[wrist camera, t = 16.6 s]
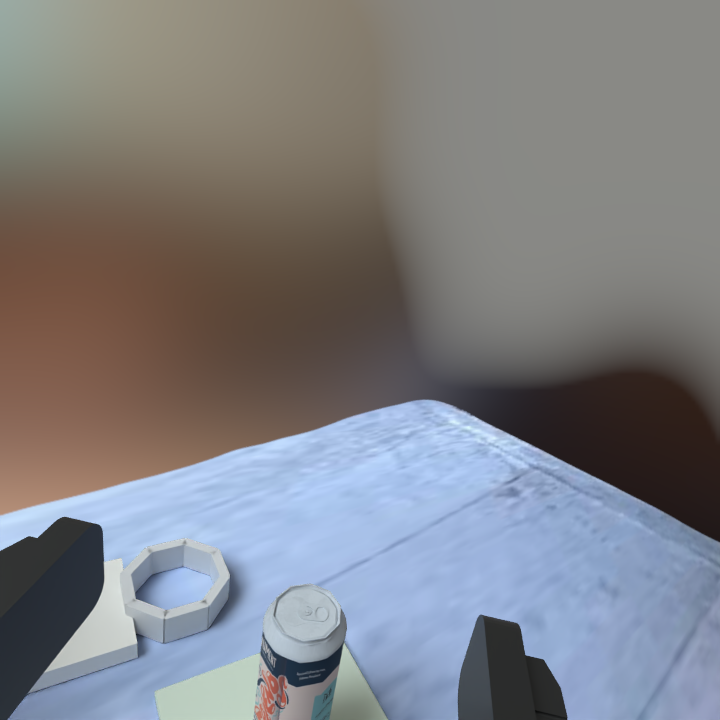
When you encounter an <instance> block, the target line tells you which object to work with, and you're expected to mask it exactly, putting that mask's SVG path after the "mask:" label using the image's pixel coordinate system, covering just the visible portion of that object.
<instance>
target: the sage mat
mask: <svg viewBox="0 0 720 720" xmlns="http://www.w3.org/2000/svg"><path fill="white" fill-rule="evenodd" d="M260 654H261V653H258V654H255V655H253V656H250V657H247V658H244V659H242V660H239V661H236V662H233V663H231V664H228V665H225V666H222V667H220V668H217V669H214V670H211V671H209V672H206V673H203V674H200V675H198V676H195V677H192V678H190V679H187V680H184V681H181V682H179V683H176V684H173V685H170V686H168V687H165V688H162V689H159V690H157V691H155V701H156V706H157V711H158V716H159V720H253V718H254V709H255V700H256V690H257V681H258V672H259V663H260ZM329 720H388V719H387V717H386V715H385V714H384V712H383V710H382V708H381V706H380V705H379V703H378V701H377V699H376V698H375V696H374V694H373V692H372V691H371V689H370V687H369V685H368V684H367V682H366V680H365V678H364V677H363V675H362V673H361V671H360V670H359V668H358V666H357V664H356V663H355V661H354V659H353V657H352V656H351V654H350V652H349V650H348V649H347V647H346V645H345V643H344V645H343V650H342V655H341V660H340V666H339V671H338V676H337V682H336V687H335V692H334V697H333V703H332V708H331V713H330V719H329Z"/></svg>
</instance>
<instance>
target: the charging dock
mask: <svg viewBox="0 0 720 720" xmlns="http://www.w3.org/2000/svg"><path fill="white" fill-rule="evenodd" d="M179 567H186V568H189V569H192V570H195V571H198V572H201V573H203V574H206V575H209V576H210V577H211V580H212V583H213V586H212V587H211V589H210V590H209V591H208V593H207V594H206V596H205V597H204V598H203V600H200V601H197V602H193V603H190V604H187V605H183V606H180V607H176V608H173V609H170V610H164V609H162V608H159V607H156V606H154V605H151V604H148V603H145V602H143V601H140V600H137V599H136V597H135V592H136V591H137V590H138V589H139V588H140V587H141V586H142V585H143V584H144V582H145V581H146V580H147V579H148V578H149V577H150V576H151V575H152V574H156V573H160V572H164V571H167V570H171V569H175V568H179ZM229 583H230V574H229V572H228V569H227V567H226V564H225V562H224V559H223V557H222V555H221V552H220V550H218V549H217V548H214V547H211V546H208V545H205V544H202V543H199V542H197V541H194V540H191V539H188V538H186V539H185V538H183V539H179V540H174V541H170V542H166V543H161V544H157V545H153V546H148V547H147V548H145V549H144V550H143V551H142V552H141V553H140V554H139V555H138V556H137V557H136V558H135V559H134V560H133V561H132V562H131V563H130V564H129V565H128V566H127V567H126V568H125V569H123V564H122V558H119V559H115V560H111V561H107V562H104V586H103V590H102V593H101V595H100V598H99V600H98V602H97V604H96V606H95V607H94V609H93V610H92V612H91V613H90V614H89V616H88V617H87V618H86V620H85V621H84V622H83V623H82V625H81V626H80V627H79V628H78V630H77V631H76V632H75V634H74V635H73V636H72V637H71V639H70V640H69V641H68V642H67V644H66V645H65V646H64V648H63V649H62V650H61V651H60V653H59V654H58V655H57V657H56V658H55V659H54V660H53V662H52V663H51V664H50V665H49V667H48V668H47V669H46V671H45V672H44V673H43V674H42V676H41V677H40V678H39V680H38V681H37V682H36V683H35V685H34V686H33V687H32V688H31V690H30V691H29V692H28V694H29V693H32V692H35V691H38V690H41V689H44V688H47V687H50V686H53V685H56V684H59V683H62V682H65V681H68V680H71V679H74V678H77V677H81V676H84V675H87V674H90V673H93V672H96V671H99V670H102V669H105V668H108V667H111V666H114V665H117V664H120V663H123V662H126V661H129V660H132V659H135V658H138V653H137V638H136V633H137V634H139V635H142V636H144V637H147V638H150V639H152V640H155V641H157V642H160V643H164V642H165V643H168V642H171V641H174V640H177V639H180V638H184V637H187V636H190V635H193V634H196V633H199V632H202V631H205V630H207V628H208V629H209V627H210V626H211V624H212V623H213V621H214V620H215V618H216V617H217V615H218V614H219V612H220V611H221V609H222V608H223V606H224V605H225V603H226V602H227V600H228V596H229Z"/></svg>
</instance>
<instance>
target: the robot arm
mask: <svg viewBox="0 0 720 720" xmlns="http://www.w3.org/2000/svg"><path fill="white" fill-rule="evenodd" d="M103 586H104V553H103V531H102V528H101V526H100V525H98V524H94V523H90V522H85V521H81V520H77V519H72V518H68V517H62V518H60V519H58V520H57V521H55V522H54V523H53V524H52V525H51V526H50V527H49V528H48V529H47V530H46V531H44V532H43V533H42V534H41V535H40V536H39V537H38V538H34V537H30V536H28V537H26V538H24V539H23V540H21V541H19V542H17V543H15V544H13V545H11V546H9V547H7V548H5V549H3V550H1V551H0V720H7V719H8V718H9V717H10V715H11V714H12V713H13V711H14V710H15V709H16V708H17V706H18V705H19V704H20V702H21V701H22V700H23V699H24V697H25V696H26V695H27V694H28V692H29V691H30V690H31V688H32V687H33V686H34V685H35V683H36V682H37V681H38V680H39V678H40V677H41V676H42V674H43V673H44V672H45V671H46V669H47V668H48V667H49V665H50V664H51V663H52V662H53V660H54V659H55V658H56V657H57V655H58V654H59V653H60V651H61V650H62V649H63V648H64V646H65V645H66V644H67V642H68V641H69V640H70V639H71V637H72V636H73V635H74V634H75V632H76V631H77V630H78V628H79V627H80V626H81V625H82V623H83V622H84V621H85V620H86V618H87V617H88V616H89V614H90V613H91V612H92V610H93V609H94V607H95V606H96V604H97V602H98V600H99V598H100V595H101V593H102V590H103ZM458 720H567V713H566V709H565V705H564V700H563V696H562V692H561V688H560V686H559V684H558V683H557V681H556V679H555V678H554V676H553V674H552V673H551V671H550V669H549V668H548V666H547V664H546V663H545V661H544V660H543V659H539V658H534V657H530V656H526V655H525V651H524V645H523V640H522V634H521V629H520V626H519V625H518V624H517V623H514V622H510V621H505V620H501V619H497V618H493V617H488V616H484V615H479V617H478V619H477V621H476V624H475V627H474V630H473V634H472V637H471V640H470V643H469V646H468V649H467V652H466V656H465V659H464V662H463V665H462V669H461V673H460V680H459V688H458Z"/></svg>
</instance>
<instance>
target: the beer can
mask: <svg viewBox="0 0 720 720" xmlns="http://www.w3.org/2000/svg"><path fill="white" fill-rule="evenodd" d="M346 630H347V624H346V618H345V615H344V613H343V611H342V609H341V605H340V604H339V603H338V601H337V600H336V599H335V597H334V596H333V595H332V593H331V592H330V591H328V590H326V589H323V588H321V587H318V586H316V585H313V584H304V585H296V586H290V587H289V588H288V589H286V590H285V591H284V592H283V593H281V594H280V595H279V596H278V597H276V600H275V601H274V602H273V603H271V605H270V606H269V607H268V609H267V611H266V613H265V616H264V620H263V635H262V644H261V654H260V663H259V672H258V681H257V690H256V700H255V709H254V718H253V720H329V719H330V713H331V708H332V703H333V697H334V692H335V687H336V682H337V676H338V671H339V666H340V660H341V655H342V650H343V645H344V640H345V636H346Z"/></svg>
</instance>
